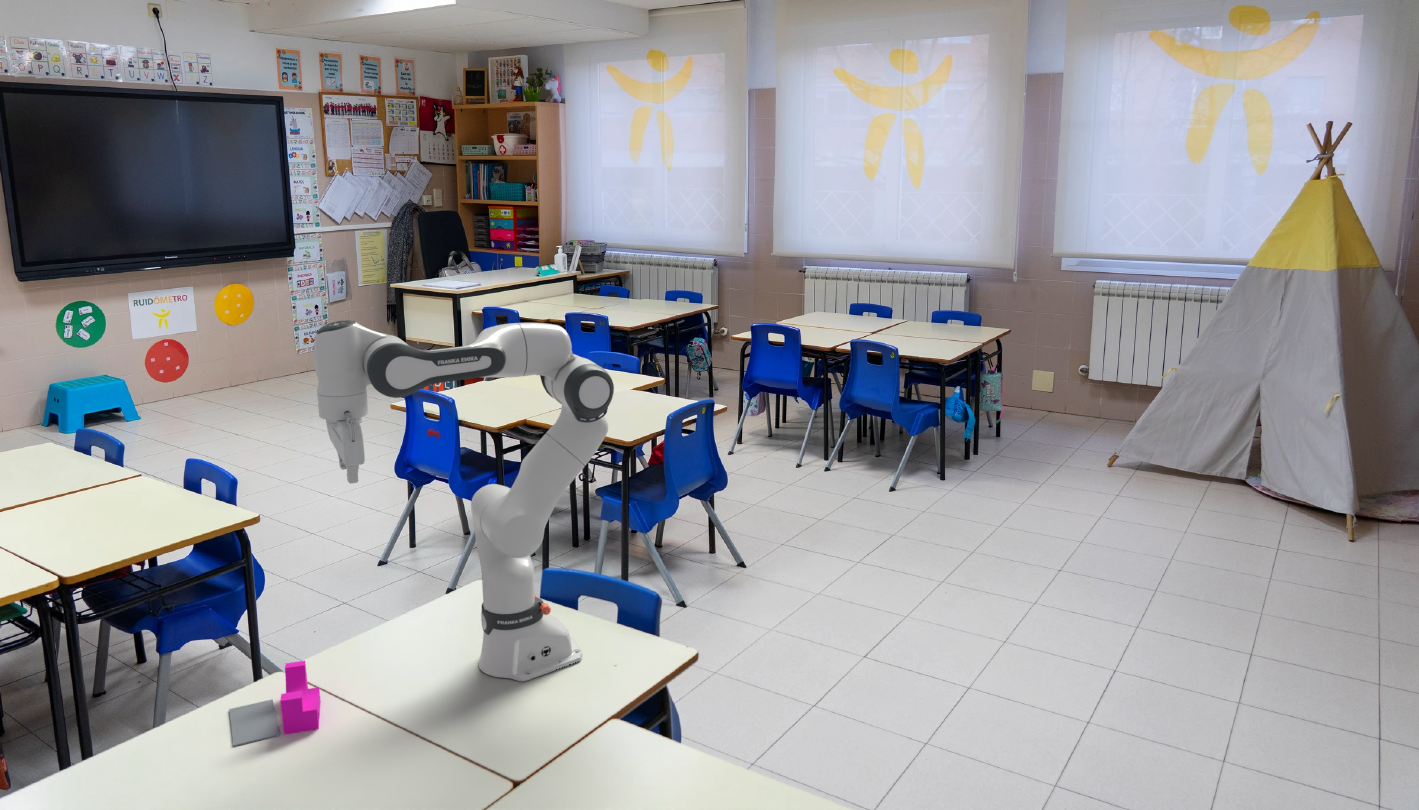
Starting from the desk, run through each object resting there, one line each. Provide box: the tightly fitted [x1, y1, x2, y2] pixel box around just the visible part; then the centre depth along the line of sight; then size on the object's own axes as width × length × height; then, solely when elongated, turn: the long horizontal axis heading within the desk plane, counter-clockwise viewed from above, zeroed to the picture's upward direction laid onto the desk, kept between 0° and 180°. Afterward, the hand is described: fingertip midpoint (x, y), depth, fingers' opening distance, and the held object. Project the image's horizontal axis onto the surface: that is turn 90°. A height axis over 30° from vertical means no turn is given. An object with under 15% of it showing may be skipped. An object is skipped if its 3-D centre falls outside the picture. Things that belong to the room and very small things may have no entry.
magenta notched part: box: [279, 660, 321, 736], centre depth 194 cm, size 15×6×8 cm, turn 19°
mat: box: [228, 699, 280, 748], centre depth 191 cm, size 8×14×1 cm, turn 28°
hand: (348, 475), depth 189 cm, fingers open, 8 cm apart
